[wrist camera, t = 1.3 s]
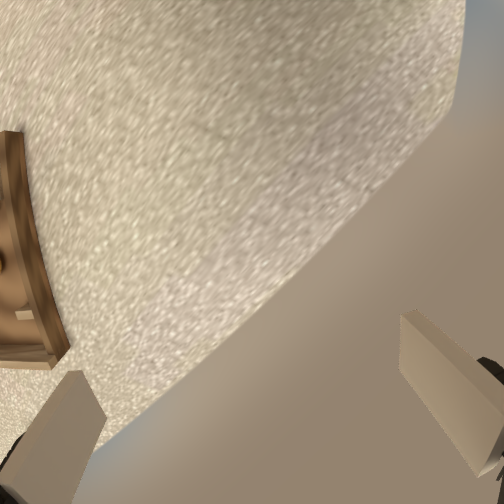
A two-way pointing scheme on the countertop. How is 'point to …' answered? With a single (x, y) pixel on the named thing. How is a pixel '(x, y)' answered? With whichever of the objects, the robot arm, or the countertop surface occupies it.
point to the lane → (24, 273)
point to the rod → (1, 188)
